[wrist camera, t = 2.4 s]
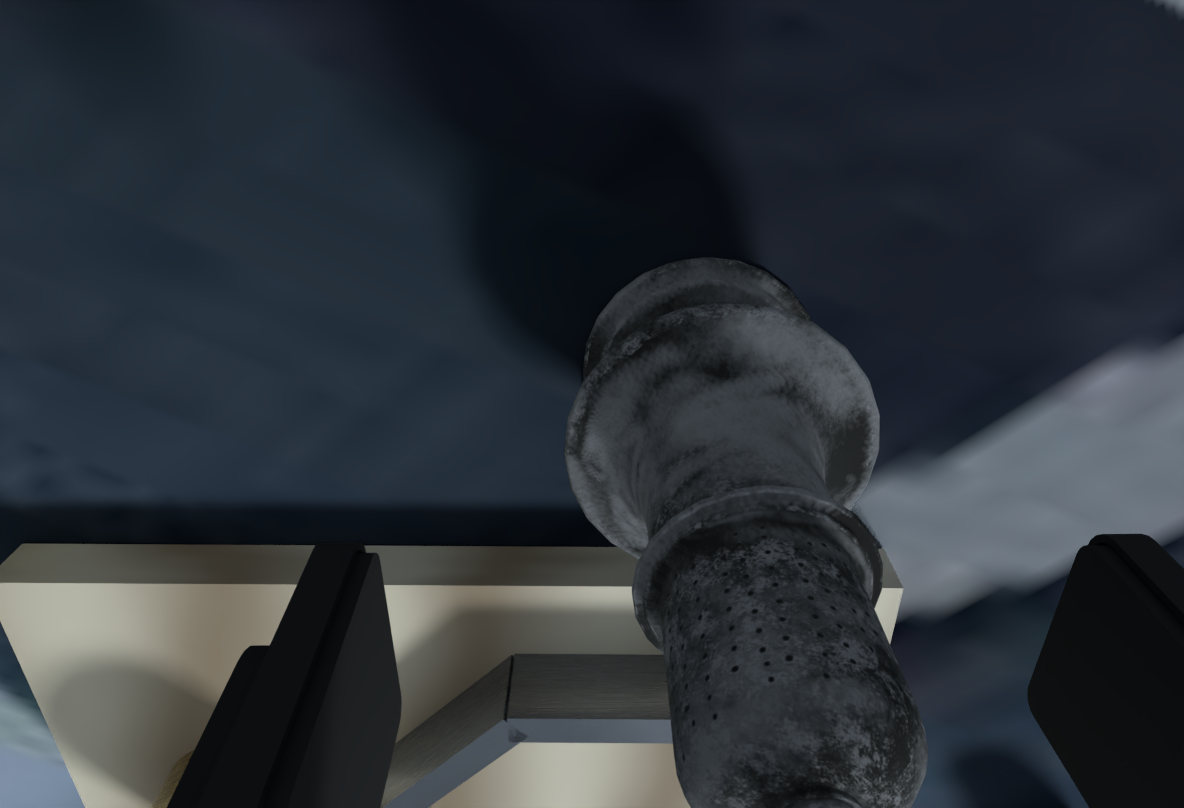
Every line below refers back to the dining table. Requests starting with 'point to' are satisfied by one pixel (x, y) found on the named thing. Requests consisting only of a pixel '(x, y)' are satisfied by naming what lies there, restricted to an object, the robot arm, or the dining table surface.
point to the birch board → (251, 617)
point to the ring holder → (530, 718)
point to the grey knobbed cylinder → (747, 537)
